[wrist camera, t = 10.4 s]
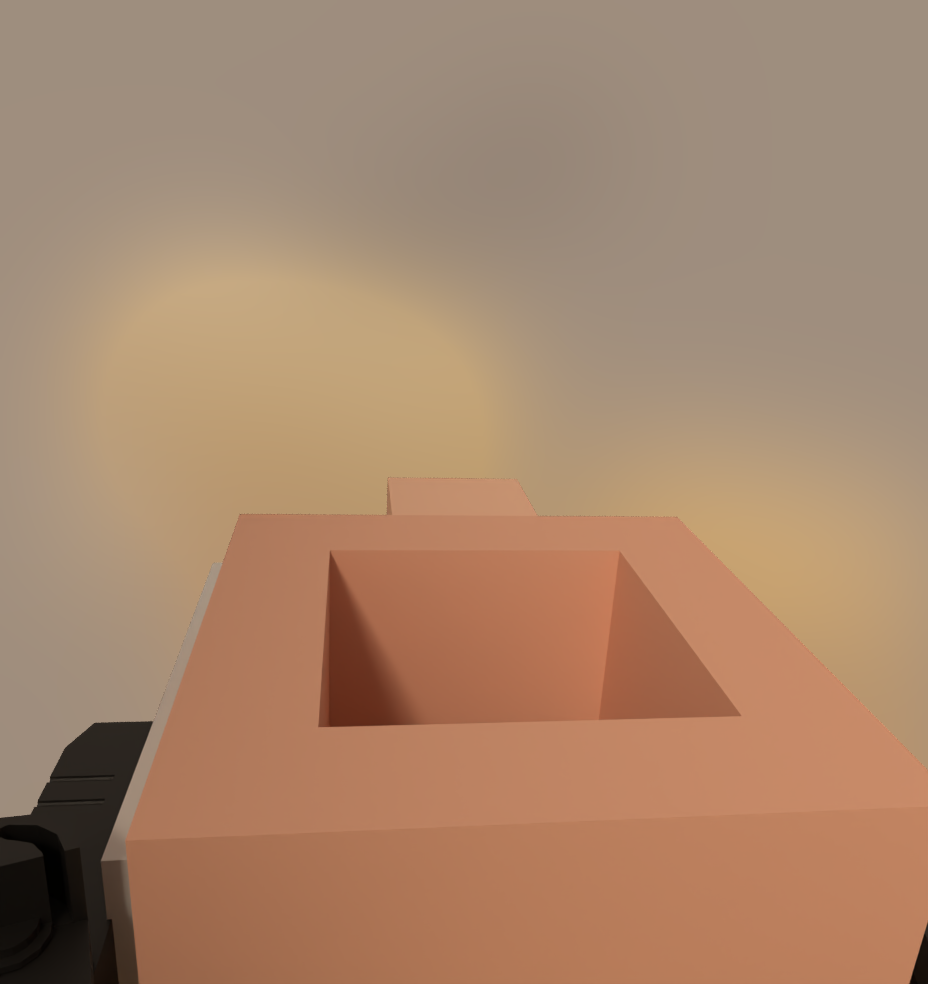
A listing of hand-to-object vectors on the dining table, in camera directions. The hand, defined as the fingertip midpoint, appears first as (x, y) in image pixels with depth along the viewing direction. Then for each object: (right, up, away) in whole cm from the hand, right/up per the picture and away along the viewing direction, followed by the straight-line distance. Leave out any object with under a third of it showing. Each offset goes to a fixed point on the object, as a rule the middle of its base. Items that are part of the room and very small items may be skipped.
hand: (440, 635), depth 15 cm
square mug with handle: (0, -7, -3) cm, 8 cm away
